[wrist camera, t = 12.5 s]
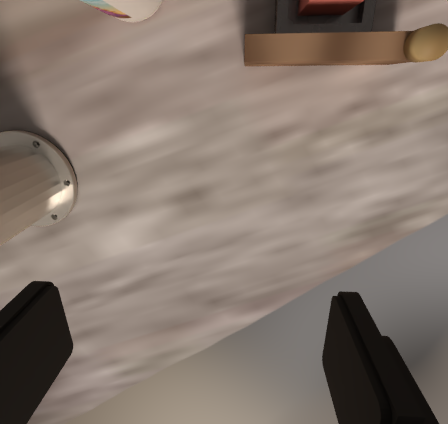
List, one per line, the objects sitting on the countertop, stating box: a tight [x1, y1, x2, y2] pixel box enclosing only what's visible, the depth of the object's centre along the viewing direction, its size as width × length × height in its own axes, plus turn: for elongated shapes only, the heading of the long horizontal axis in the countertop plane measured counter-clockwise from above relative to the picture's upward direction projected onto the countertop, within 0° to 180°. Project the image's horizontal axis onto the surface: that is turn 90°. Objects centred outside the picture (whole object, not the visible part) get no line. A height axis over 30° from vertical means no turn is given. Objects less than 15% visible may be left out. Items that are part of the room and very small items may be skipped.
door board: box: [244, 24, 448, 66], centre depth 27 cm, size 15×2×10 cm, turn 91°
